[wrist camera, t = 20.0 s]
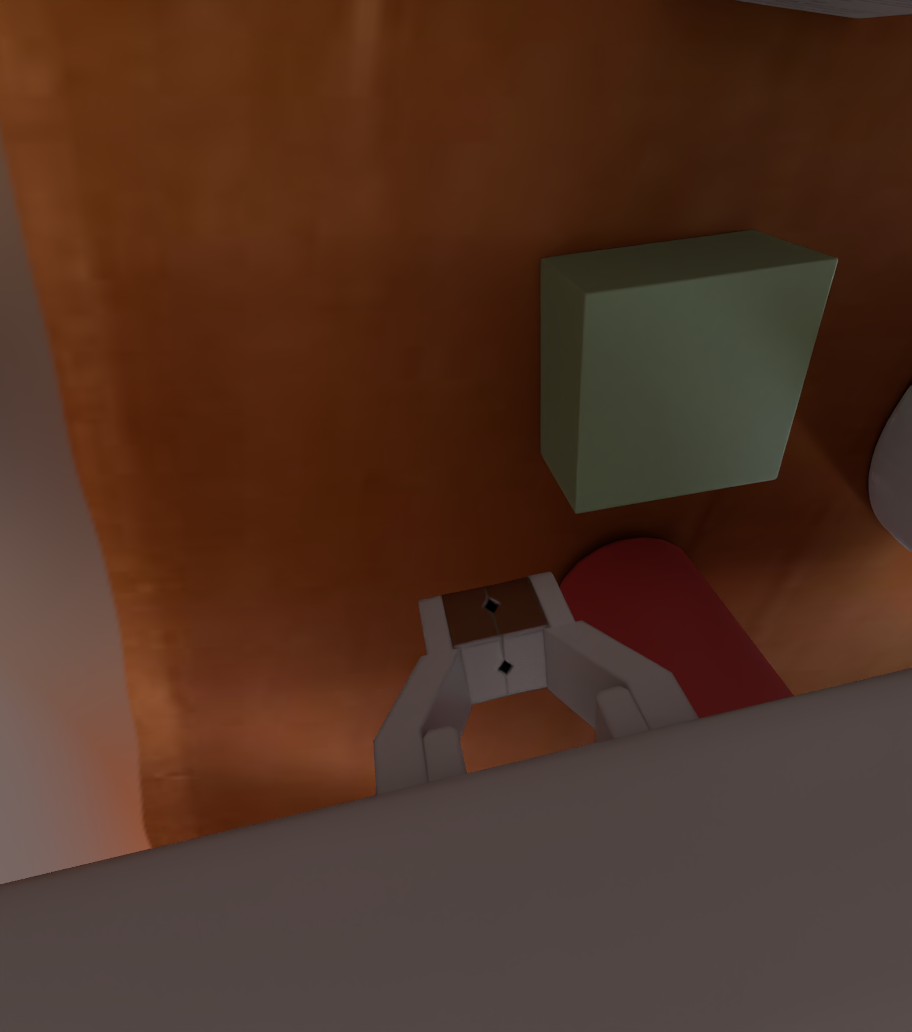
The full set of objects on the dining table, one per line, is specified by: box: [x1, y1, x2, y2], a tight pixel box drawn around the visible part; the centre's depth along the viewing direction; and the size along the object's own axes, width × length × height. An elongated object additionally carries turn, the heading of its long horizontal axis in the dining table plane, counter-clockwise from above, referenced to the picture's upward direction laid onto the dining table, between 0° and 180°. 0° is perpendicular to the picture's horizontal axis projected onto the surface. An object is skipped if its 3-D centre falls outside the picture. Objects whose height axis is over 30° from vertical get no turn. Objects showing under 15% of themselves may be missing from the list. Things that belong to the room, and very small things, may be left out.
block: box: [541, 230, 838, 514], centre depth 19 cm, size 7×7×4 cm
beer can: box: [559, 537, 794, 718], centre depth 23 cm, size 7×7×12 cm
